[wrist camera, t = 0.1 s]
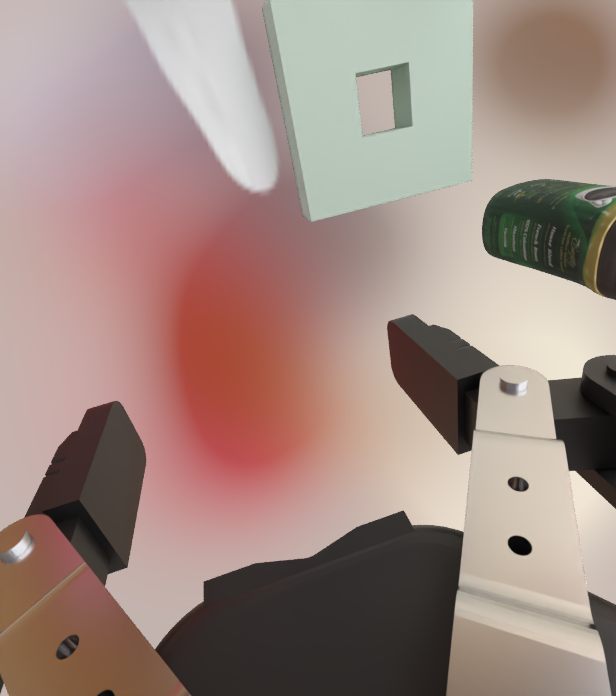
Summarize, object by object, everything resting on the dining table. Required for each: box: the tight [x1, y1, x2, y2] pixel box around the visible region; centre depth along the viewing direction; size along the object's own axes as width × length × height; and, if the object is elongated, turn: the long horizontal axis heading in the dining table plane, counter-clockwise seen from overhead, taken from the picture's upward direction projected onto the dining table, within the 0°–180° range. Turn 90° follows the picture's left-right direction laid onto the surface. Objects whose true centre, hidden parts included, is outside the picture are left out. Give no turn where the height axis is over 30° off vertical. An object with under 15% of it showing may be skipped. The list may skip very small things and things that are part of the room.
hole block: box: [262, 0, 473, 222], centre depth 34 cm, size 16×16×4 cm
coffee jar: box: [482, 179, 616, 300], centre depth 36 cm, size 10×8×19 cm
